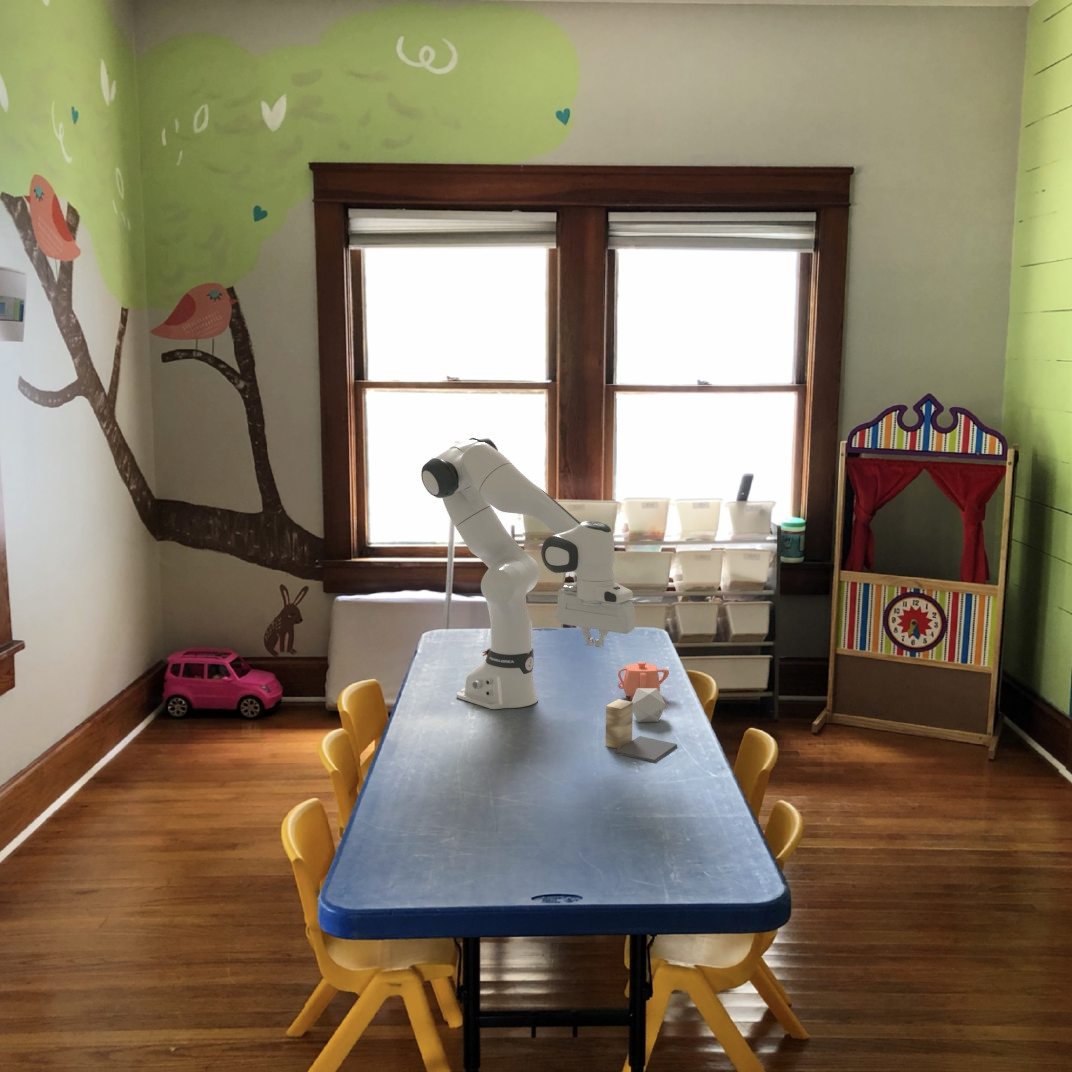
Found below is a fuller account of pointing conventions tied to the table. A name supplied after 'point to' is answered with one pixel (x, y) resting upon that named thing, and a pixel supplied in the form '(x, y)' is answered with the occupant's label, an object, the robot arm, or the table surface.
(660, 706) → the die
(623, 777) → the table surface
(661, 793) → the table surface
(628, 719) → the maple block
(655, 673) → the teapot
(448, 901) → the table surface
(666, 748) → the rubber mat
